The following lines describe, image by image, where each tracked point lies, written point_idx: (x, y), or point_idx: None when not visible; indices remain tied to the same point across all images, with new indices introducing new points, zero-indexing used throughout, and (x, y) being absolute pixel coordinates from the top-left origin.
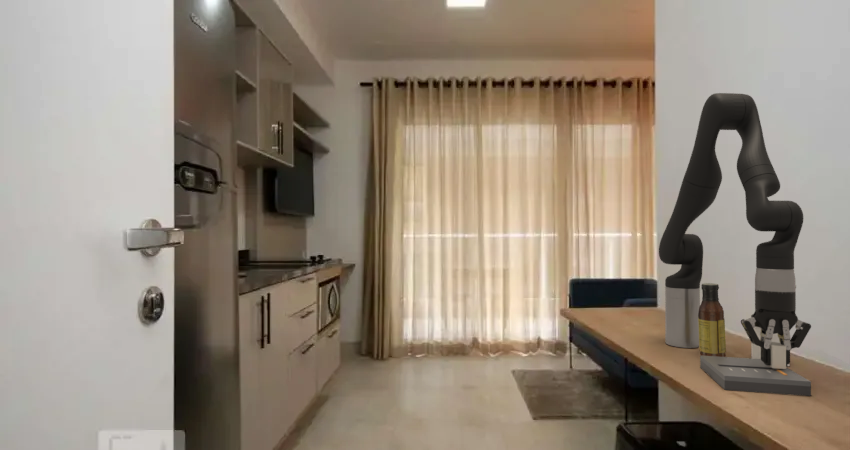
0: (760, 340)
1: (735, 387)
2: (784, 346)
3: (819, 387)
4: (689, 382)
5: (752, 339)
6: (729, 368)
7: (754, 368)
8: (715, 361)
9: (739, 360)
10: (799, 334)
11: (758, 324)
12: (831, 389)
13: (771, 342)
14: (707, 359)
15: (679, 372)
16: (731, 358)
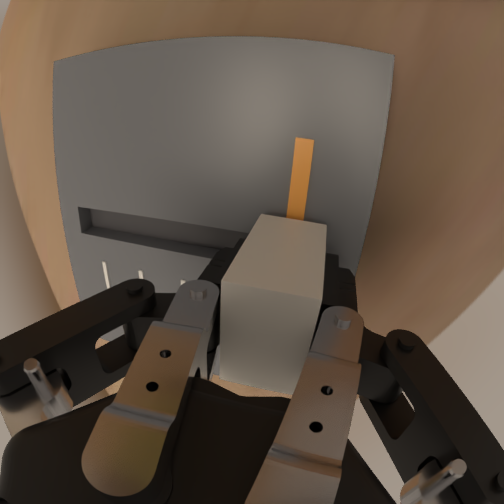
0: (171, 309)
1: None
2: (288, 392)
3: (425, 281)
4: (50, 253)
5: (108, 346)
6: (103, 269)
7: (192, 256)
8: (77, 158)
9: (178, 104)
10: (395, 460)
11: (86, 415)
12: (445, 299)
13: (262, 304)
14: (59, 130)
15: (33, 155)
16: (155, 67)
